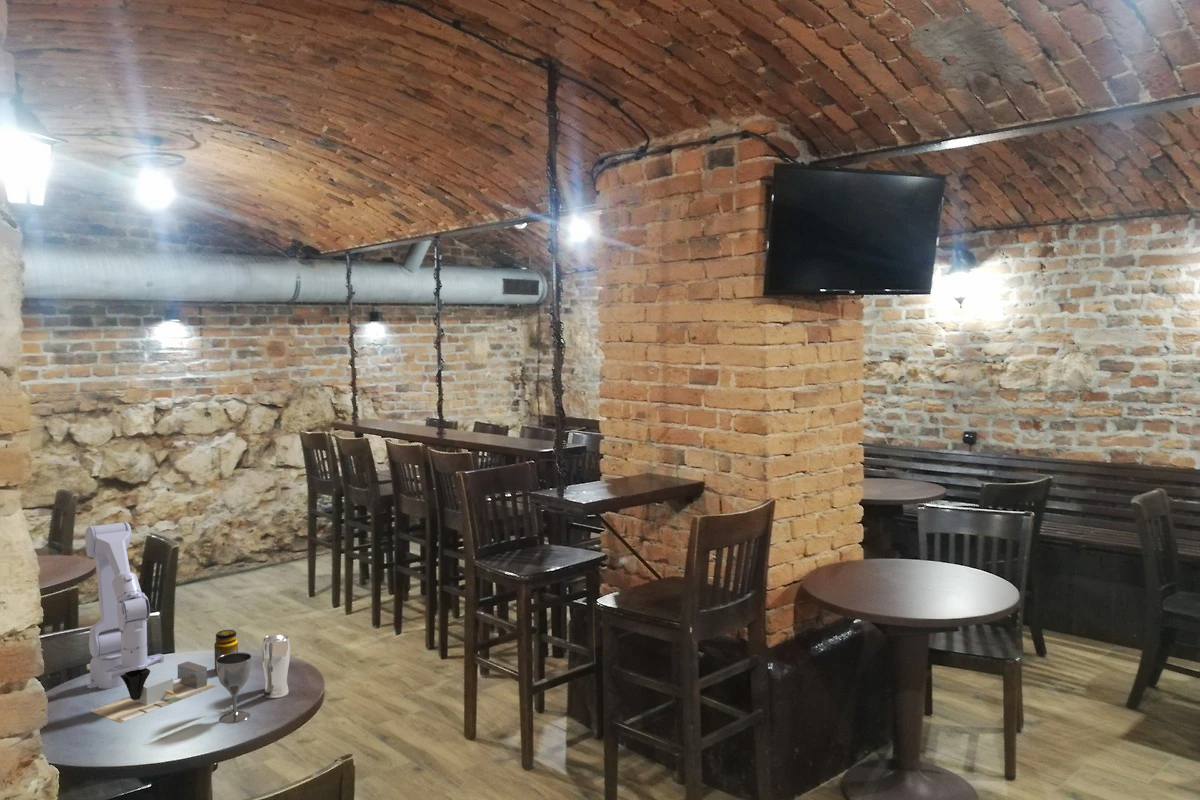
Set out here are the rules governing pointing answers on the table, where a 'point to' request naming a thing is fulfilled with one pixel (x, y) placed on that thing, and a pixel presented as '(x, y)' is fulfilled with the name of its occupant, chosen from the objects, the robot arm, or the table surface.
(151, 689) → the light grey block
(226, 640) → the condiment
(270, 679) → the beer glass
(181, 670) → the grey rectangular block
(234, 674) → the wine glass
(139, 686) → the robot arm
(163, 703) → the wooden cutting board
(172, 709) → the table surface
